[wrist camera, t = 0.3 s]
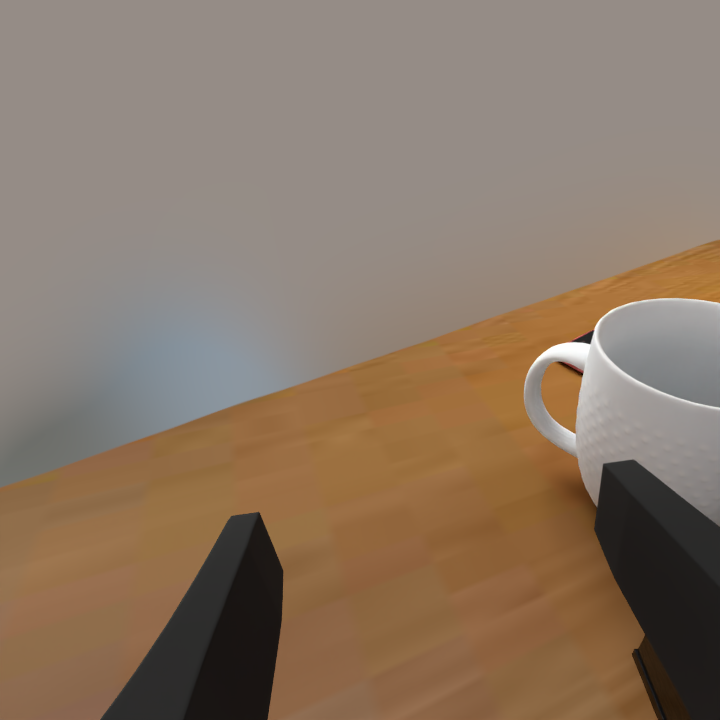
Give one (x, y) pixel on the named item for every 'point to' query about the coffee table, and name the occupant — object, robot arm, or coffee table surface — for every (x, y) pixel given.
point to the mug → (644, 397)
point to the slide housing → (659, 684)
